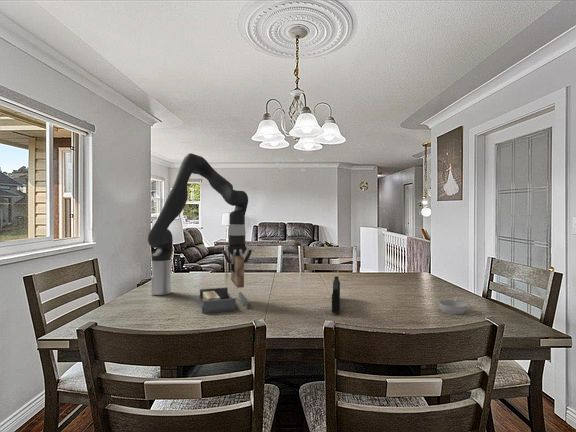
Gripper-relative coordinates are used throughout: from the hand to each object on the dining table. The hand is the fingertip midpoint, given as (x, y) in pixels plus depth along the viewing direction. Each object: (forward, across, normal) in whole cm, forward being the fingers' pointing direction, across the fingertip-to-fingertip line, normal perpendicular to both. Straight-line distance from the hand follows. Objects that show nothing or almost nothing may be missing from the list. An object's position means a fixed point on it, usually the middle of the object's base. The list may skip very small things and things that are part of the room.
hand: (237, 271), depth 166 cm
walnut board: (+5, 0, 0) cm, 5 cm away
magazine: (+14, -41, +18) cm, 47 cm away
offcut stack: (+15, +12, 0) cm, 19 cm away
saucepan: (+14, -86, +39) cm, 96 cm away
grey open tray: (+14, +6, 0) cm, 16 cm away
